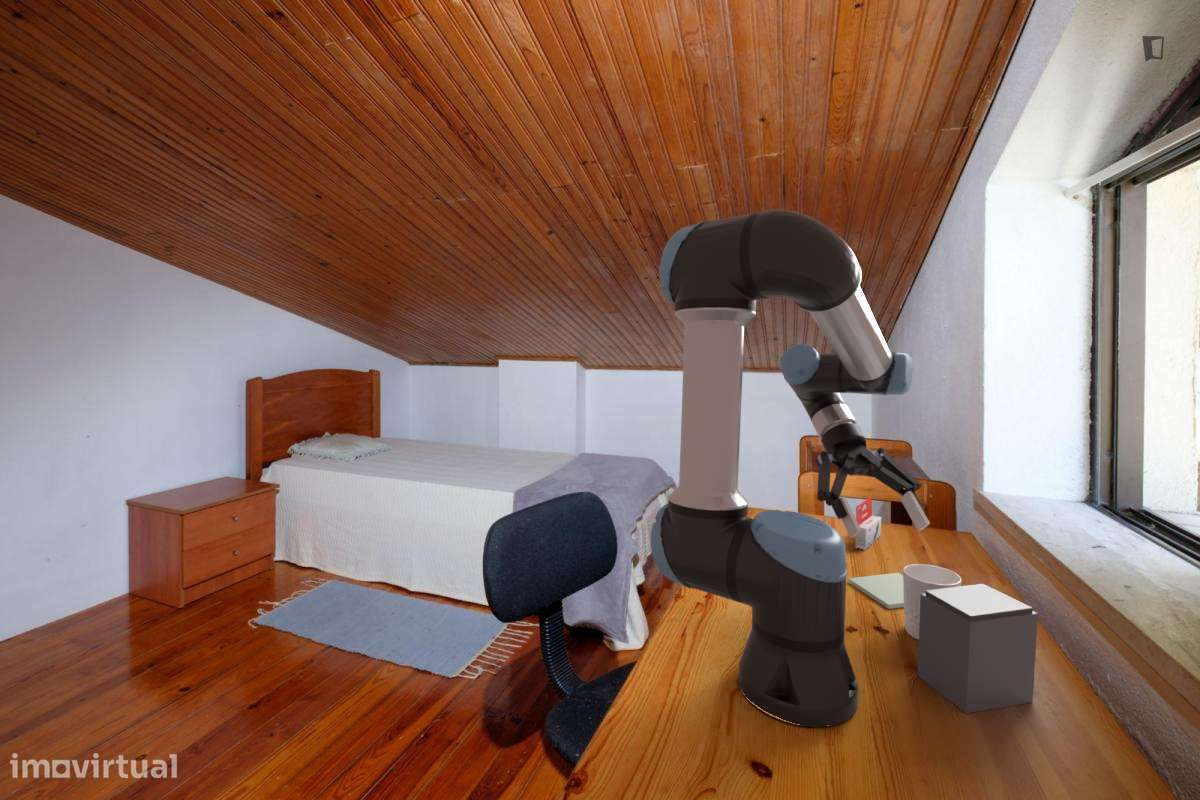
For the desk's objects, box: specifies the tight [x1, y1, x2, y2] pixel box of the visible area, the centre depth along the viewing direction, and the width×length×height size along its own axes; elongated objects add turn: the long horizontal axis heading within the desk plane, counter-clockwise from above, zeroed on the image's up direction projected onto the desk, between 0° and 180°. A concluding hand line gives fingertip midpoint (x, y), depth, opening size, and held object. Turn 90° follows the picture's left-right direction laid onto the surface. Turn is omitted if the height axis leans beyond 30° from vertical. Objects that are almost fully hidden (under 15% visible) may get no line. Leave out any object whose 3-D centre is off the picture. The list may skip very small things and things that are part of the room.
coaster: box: [848, 572, 904, 610], centre depth 101 cm, size 11×11×1 cm
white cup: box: [902, 563, 962, 641], centre depth 86 cm, size 8×8×10 cm
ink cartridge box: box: [854, 496, 882, 551], centre depth 125 cm, size 2×11×10 cm, turn 137°
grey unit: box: [917, 583, 1039, 714], centre depth 72 cm, size 11×8×13 cm
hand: (890, 530), depth 94 cm, fingers open, 13 cm apart
